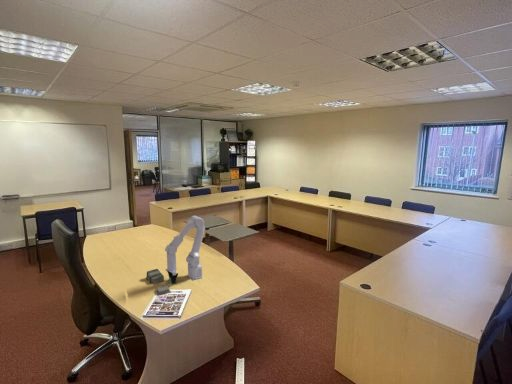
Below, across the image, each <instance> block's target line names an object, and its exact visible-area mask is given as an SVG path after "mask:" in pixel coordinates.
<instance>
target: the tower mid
mask: <svg viewBox="0 0 512 384" xmlns="http://www.w3.org/2000/svg"><path fill="white" fill-rule="evenodd" d="M168 287H169V286H168V285H167V284H166V285H161V286H158V287H156V290H157V291H158V293H159V294H163V293H167V292H169V289H170V287H169V288H168ZM167 294H168V293H167ZM163 295H164V294H163Z"/></svg>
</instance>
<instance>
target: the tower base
mask: <svg viewBox="0 0 512 384" xmlns="http://www.w3.org/2000/svg"><path fill="white" fill-rule="evenodd" d="M168 288H169V292H167V293H163V294H159V293H158V291H157V289H155V293H156V295H157V296H158V297H159V296H163V295H167V294H171V293H172V292H171V290H170V287H169V286H168Z"/></svg>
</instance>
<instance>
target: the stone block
mask: <svg viewBox="0 0 512 384" xmlns="http://www.w3.org/2000/svg"><path fill="white" fill-rule="evenodd" d="M145 278H146V280H147V281H149V284H151V285H153V284H157V283H161V282H164V281H165V276H164V275H163V274H162V272H161V270H159V268H155V269H151V270H147V271H146V277H145Z"/></svg>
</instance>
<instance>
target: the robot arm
mask: <svg viewBox="0 0 512 384" xmlns="http://www.w3.org/2000/svg"><path fill="white" fill-rule="evenodd" d="M191 229H196V232H195V236H194V240H193V244H192V248H191V250H190V252H189V253H188V255H187V257H186V259H185V261H186V263H187V276H188V278H189V279H190V280H191V281H194V280H198V279H203V268H202V267H203V266H202V265H201V263H200V261H201V260H200V250H201V246H202V243H203V240H204V239H203V238H204V235H205V231H206V227H205V220H204V219H203V218H202V217H199V216H197V215H191V217H190V218H189V219H188V221H187V223H186V224H185V226H184V227H183V229H182V230H181V231H180V233H178V234H177V235H175V236H173V239H172V240H171V242H169V244H167V245H166V247H165V249H164V251H165V252H166V263H167V264H166V265H167V266H166V267H167V268H166V269H165V271H166V272H167V274H168V279H169V278H171V282H172V284H171V285H174V284H176V283H177V278H178V276H179V273H178V272H177V269H178V268H177V256H176V253H177V251H178V248H179V247H180V246H181V244H182V243H183V242H184V238H185V236H187V234H188V233H189V232H190V231H191Z"/></svg>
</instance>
